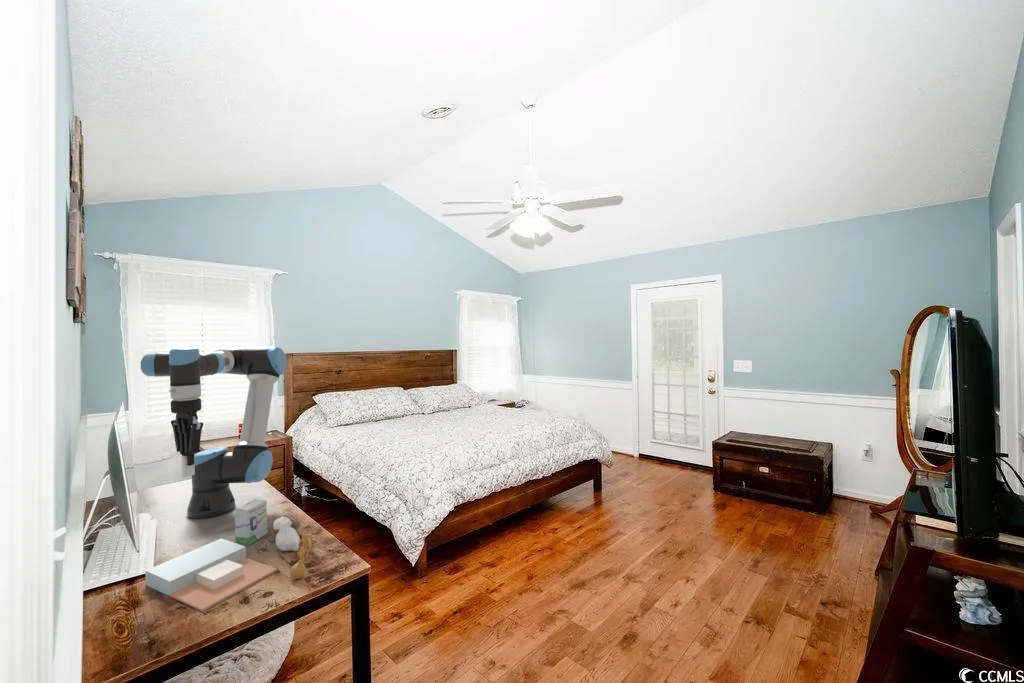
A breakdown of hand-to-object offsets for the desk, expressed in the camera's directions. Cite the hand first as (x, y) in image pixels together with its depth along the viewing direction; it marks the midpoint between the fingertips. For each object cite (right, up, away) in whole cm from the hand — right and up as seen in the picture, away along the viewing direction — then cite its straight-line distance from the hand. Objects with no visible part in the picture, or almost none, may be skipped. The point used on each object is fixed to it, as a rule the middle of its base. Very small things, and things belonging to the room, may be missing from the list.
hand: (188, 475), depth 136 cm
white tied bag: (+28, -24, +4) cm, 38 cm away
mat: (+21, -25, -15) cm, 36 cm away
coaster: (+19, -24, -14) cm, 34 cm away
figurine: (+41, -25, -12) cm, 49 cm away
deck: (+10, -25, -9) cm, 28 cm away
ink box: (+14, -24, +10) cm, 29 cm away
